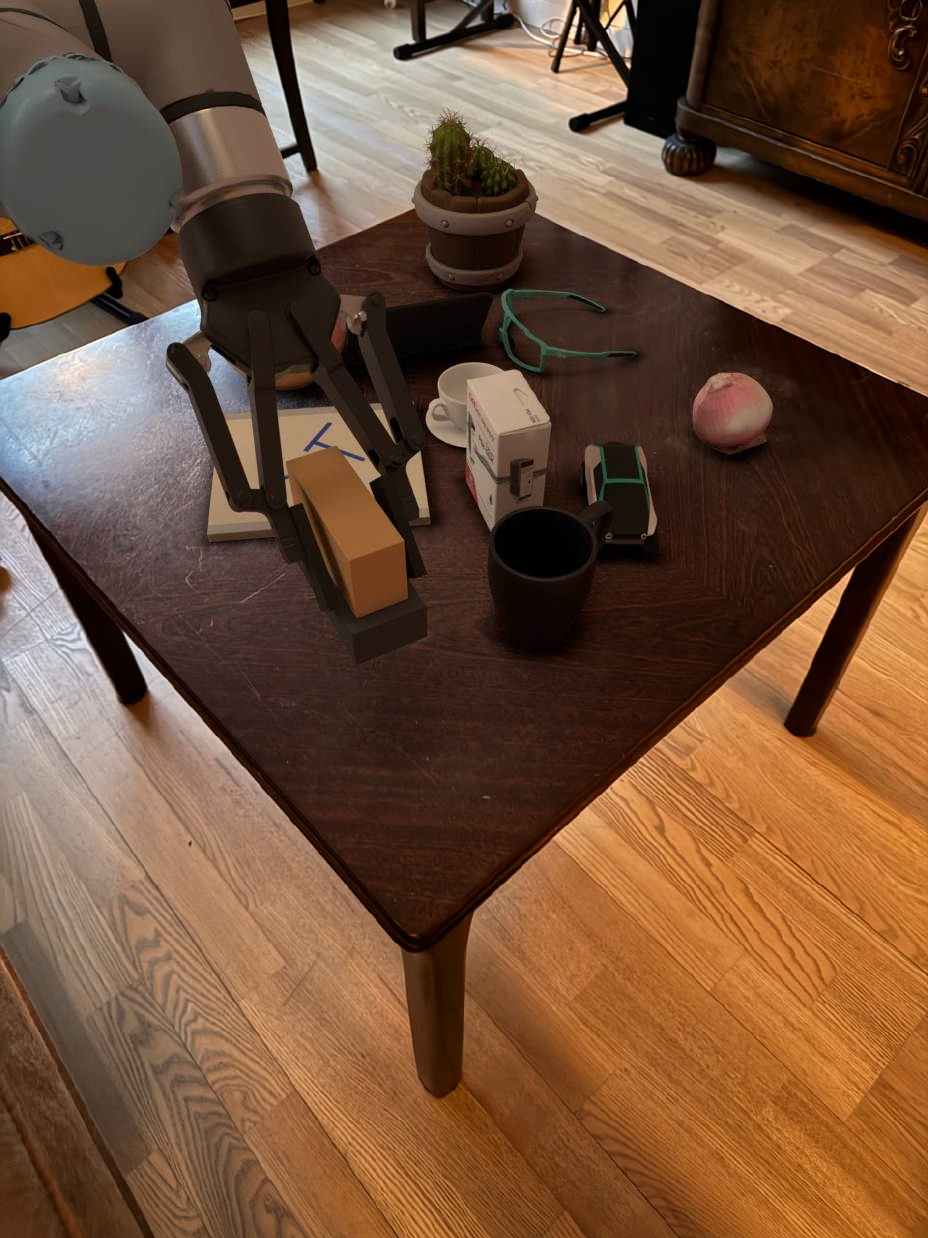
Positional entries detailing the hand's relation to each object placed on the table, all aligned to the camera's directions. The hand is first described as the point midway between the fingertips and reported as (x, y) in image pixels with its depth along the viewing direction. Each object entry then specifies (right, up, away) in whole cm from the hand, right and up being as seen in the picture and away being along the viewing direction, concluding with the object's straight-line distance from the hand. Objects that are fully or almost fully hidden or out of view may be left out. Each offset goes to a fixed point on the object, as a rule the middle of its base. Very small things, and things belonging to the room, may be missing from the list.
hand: (373, 591), depth 53 cm
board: (-9, +13, +31) cm, 35 cm away
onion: (+32, +16, +35) cm, 50 cm away
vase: (-14, +25, +42) cm, 51 cm away
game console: (0, +29, +46) cm, 55 cm away
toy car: (+20, +8, +27) cm, 34 cm away
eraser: (-2, 0, +5) cm, 5 cm away
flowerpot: (+7, +42, +57) cm, 71 cm away
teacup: (+7, +19, +37) cm, 42 cm away
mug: (+13, -1, +19) cm, 23 cm away
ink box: (+9, +9, +28) cm, 31 cm away
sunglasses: (+17, +30, +47) cm, 58 cm away
